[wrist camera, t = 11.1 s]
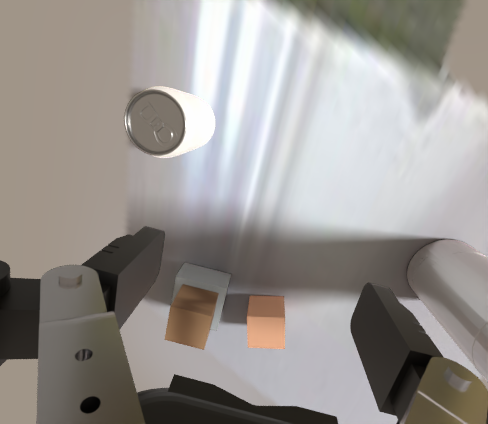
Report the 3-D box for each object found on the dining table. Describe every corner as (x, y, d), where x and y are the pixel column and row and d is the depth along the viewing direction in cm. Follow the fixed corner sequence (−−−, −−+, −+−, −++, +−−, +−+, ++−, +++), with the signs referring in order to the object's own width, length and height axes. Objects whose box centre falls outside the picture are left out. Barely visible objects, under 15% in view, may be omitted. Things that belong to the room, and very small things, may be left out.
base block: (231, 274, 43) (227, 289, 40) (221, 313, 46) (216, 331, 42) (184, 262, 44) (176, 275, 40) (177, 302, 46) (168, 318, 42)
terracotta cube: (283, 296, 44) (284, 317, 39) (283, 324, 45) (284, 349, 41) (249, 295, 44) (246, 316, 40) (250, 323, 46) (248, 347, 41)
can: (188, 158, 39) (153, 174, 28) (155, 117, 38) (104, 116, 26) (226, 127, 37) (205, 130, 26) (193, 83, 36) (156, 66, 25)
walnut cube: (218, 293, 40) (211, 316, 35) (211, 323, 41) (203, 349, 37) (182, 283, 40) (170, 306, 35) (177, 314, 42) (164, 339, 37)
